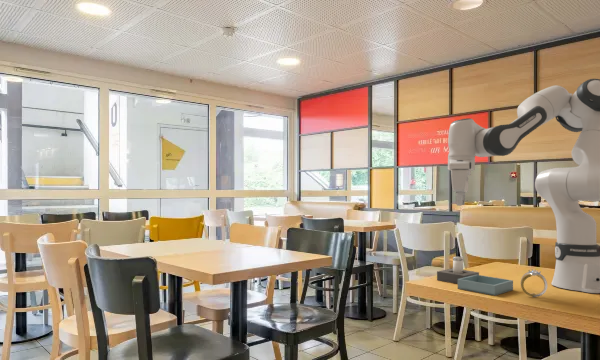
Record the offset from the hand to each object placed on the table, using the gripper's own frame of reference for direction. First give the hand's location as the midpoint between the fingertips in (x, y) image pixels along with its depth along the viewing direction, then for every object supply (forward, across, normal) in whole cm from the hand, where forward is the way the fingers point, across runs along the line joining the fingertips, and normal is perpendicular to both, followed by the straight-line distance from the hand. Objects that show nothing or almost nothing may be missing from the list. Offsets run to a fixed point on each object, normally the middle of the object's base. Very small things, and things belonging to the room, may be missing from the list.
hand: (460, 205), depth 155 cm
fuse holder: (+26, 0, 0) cm, 26 cm away
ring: (+26, +15, +22) cm, 37 cm away
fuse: (+26, 0, 0) cm, 26 cm away
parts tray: (+26, +10, +8) cm, 29 cm away
